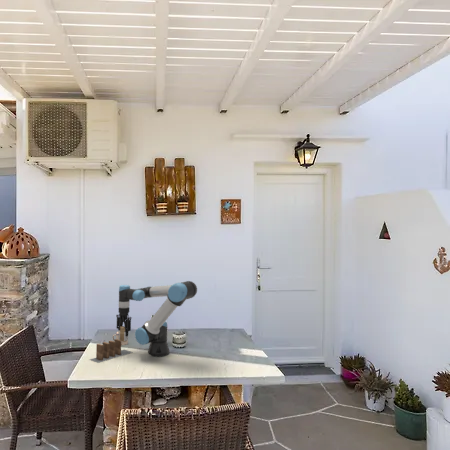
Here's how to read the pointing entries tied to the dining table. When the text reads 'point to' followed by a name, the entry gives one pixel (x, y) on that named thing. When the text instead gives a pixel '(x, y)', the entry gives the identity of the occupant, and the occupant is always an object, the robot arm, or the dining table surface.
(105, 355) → the tile
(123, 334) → the lead tile
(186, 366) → the dining table surface
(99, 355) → the tile
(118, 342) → the tile
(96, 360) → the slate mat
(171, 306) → the robot arm
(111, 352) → the tile
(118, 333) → the teacup with lid
